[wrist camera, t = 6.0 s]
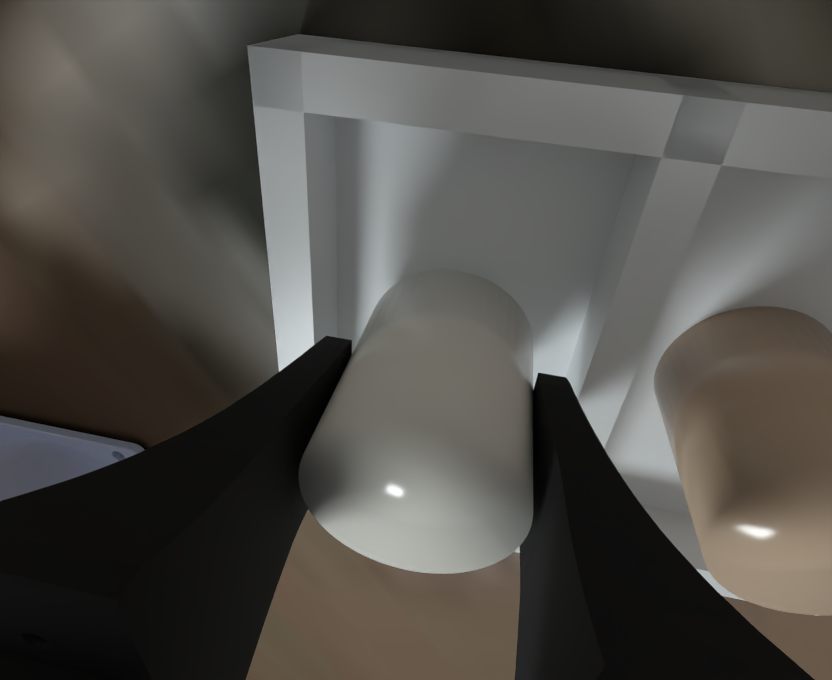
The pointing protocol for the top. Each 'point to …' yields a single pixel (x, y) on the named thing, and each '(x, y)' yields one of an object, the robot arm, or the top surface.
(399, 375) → the cream egg
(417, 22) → the top surface
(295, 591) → the top surface
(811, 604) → the brown egg
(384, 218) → the holder
